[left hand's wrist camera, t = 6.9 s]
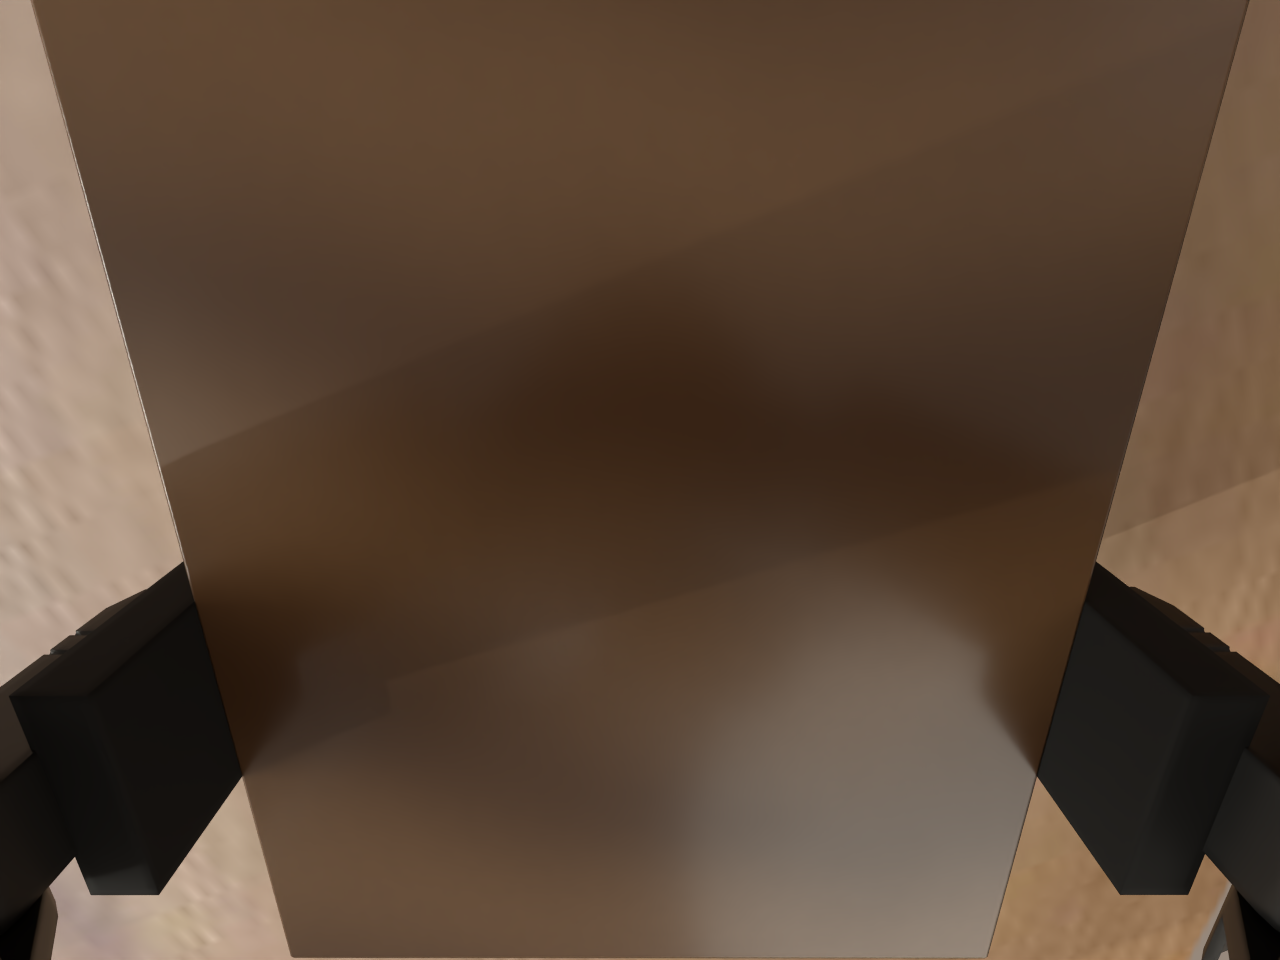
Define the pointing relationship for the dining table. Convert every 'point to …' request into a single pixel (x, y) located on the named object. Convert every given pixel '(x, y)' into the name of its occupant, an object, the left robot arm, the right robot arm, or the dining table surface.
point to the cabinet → (639, 435)
